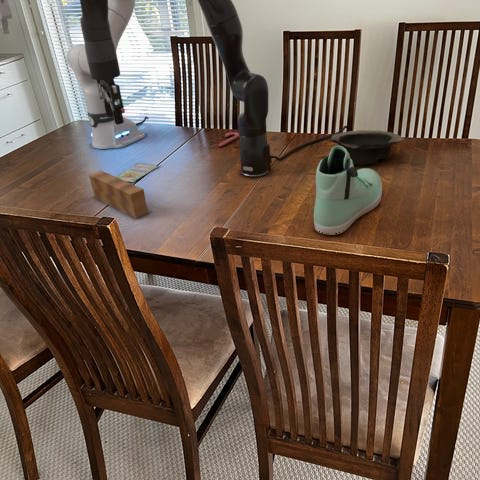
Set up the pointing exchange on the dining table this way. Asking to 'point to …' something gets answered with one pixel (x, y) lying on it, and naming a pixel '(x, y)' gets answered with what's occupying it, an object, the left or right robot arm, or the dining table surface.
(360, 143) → the stone bowl
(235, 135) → the candy cane
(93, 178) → the bar
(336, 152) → the sneaker
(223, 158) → the dining table surface
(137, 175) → the baking ingredient package
